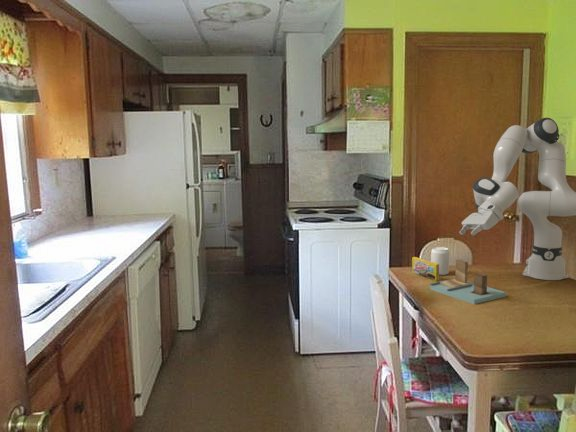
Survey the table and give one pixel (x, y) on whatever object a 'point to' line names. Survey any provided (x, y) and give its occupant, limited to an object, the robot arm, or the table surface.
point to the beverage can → (441, 259)
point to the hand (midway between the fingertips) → (466, 234)
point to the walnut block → (480, 284)
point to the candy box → (425, 269)
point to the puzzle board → (467, 292)
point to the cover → (458, 275)
